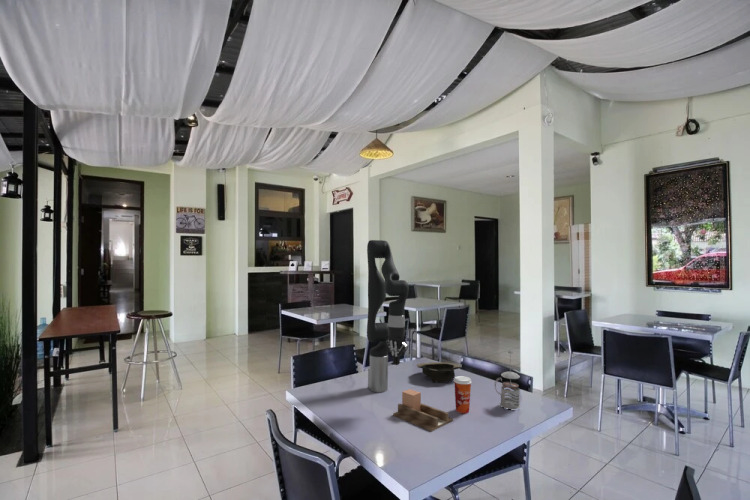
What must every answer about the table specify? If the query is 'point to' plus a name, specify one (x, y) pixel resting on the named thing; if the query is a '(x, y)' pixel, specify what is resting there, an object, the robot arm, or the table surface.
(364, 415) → the table surface
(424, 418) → the chute
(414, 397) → the block
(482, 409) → the table surface
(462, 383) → the paper cup
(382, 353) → the robot arm
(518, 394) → the french press
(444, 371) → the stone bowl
